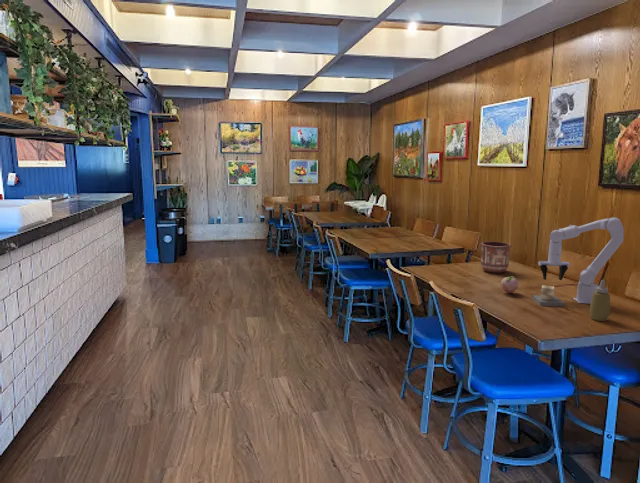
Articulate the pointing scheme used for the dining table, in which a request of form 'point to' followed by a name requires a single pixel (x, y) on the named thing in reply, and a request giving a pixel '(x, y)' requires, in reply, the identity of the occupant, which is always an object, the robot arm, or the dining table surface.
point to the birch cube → (547, 292)
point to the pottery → (495, 256)
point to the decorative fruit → (509, 284)
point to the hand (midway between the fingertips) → (552, 279)
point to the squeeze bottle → (600, 303)
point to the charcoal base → (548, 301)
